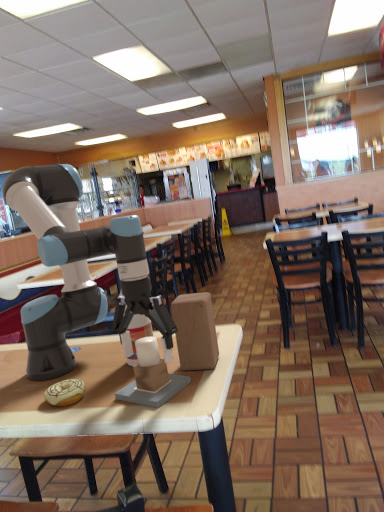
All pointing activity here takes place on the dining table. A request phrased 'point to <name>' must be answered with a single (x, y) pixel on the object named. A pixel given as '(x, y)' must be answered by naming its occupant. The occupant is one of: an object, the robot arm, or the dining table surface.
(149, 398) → the slate board
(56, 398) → the decorated donut
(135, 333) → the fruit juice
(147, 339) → the marshmallow
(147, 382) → the walnut cube
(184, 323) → the wooden block
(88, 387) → the dining table surface
